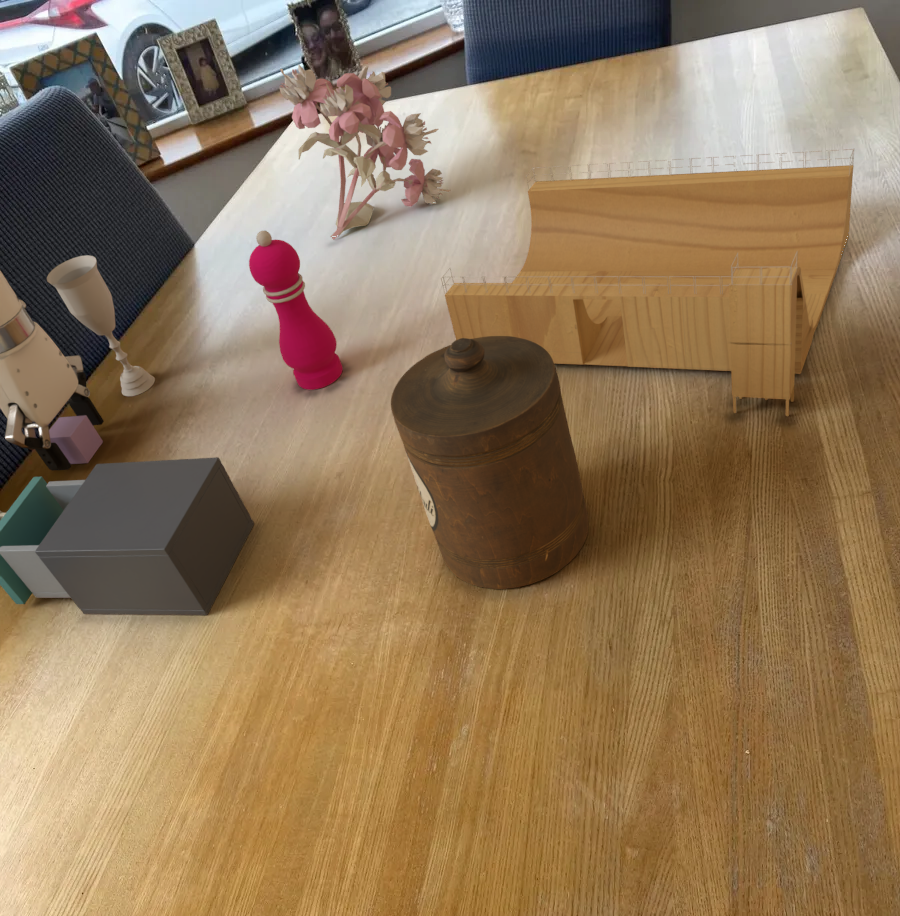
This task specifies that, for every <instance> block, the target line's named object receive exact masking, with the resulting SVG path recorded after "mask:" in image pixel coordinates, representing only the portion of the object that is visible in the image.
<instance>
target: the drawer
mask: <svg viewBox="0 0 900 916" xmlns="http://www.w3.org/2000/svg"><path fill="white" fill-rule="evenodd" d="M85 480H86V479H77V480H76V479H74V480H53V481H51V480H50V481H48V483H47V481H46V480H45V479H44V477H43V476H33V477H32V479H31V480H30V481H29V482H28V484H27V485H26V486H25V487H24V489H23V490H22V492H21V493H20V494H19V495H18V497H17V498H16V500H14V502H13V503H12V504H11V506H10V507H9V509H8V510H7V511H6V512H3V511H1V510H0V587H1V588H2V589H3V590H4V592H5V593H6V594H7V595H8V597H10V599H11V600H12V601H13V602H14V604H15V605H25V604H26V603H27V602H28V600H29V599H30V597H31V596H32V595H33V596H34V597H35V598H36V599H37V598H38V599H39V598H41V599H42V598H43V599H44V598H45V599H47V598H51V599H52V598H55V599H57V598H58V599H59V598H60V599H62V598H64V599H71V597H70V596H69V595H68V594H67V592H66V591H65V590H64V588H63V587H62V586H61V585H60V583H59V582H58V581H57V580H56V578H55V577H54V576H53V575H52V573H51V572H50V571H49V569H48V568H47V567H46V566H45V564H44V563H43V562H42V561H41V559H40V558H39V556H38V555H37V554H36V553H35V550H36V549H37V547H38V546H39V545H40V543H41V542H42V540H43V539H44V538H45V536H46V535H47V533H48V532H49V531H50V529H51V528H52V526H53V525H54V524H55V522H56V521H57V519H58V518H59V516H60V515H61V514H62V512H63V511H64V509H65V508H66V507H67V505H68V504H69V502H70V501H71V500H72V498H73V497H74V495H75V494H76V493H77V491H78V490H79V488H80V487H81V485H82V484H83V483H84V481H85Z"/></svg>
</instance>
